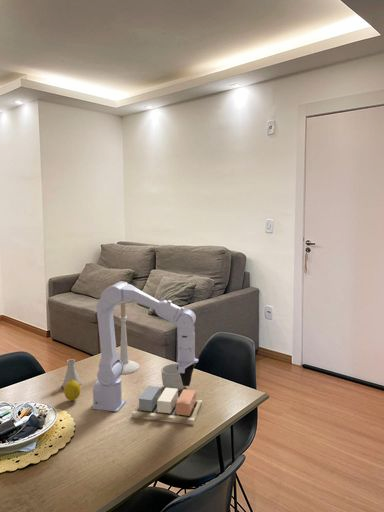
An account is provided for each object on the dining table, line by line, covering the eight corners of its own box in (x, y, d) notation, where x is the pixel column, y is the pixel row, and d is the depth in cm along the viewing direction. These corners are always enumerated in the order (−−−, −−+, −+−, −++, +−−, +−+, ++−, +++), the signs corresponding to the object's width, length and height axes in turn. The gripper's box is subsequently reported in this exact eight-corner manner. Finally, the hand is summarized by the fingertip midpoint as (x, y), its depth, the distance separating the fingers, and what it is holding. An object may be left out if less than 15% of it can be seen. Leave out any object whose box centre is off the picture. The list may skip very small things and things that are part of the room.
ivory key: (157, 411, 136) (157, 400, 136) (165, 398, 146) (165, 387, 146) (170, 413, 135) (170, 402, 135) (178, 399, 145) (177, 388, 145)
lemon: (76, 405, 144) (75, 383, 143) (61, 403, 146) (60, 382, 145) (83, 398, 150) (82, 377, 149) (69, 396, 151) (68, 376, 150)
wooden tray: (131, 417, 136) (131, 413, 136) (145, 397, 150) (145, 394, 150) (193, 424, 132) (193, 420, 132) (202, 404, 145) (202, 400, 145)
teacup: (177, 396, 151) (177, 376, 150) (155, 388, 157) (155, 369, 156) (199, 383, 162) (199, 364, 161) (178, 376, 168) (178, 358, 167)
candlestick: (110, 375, 169) (108, 305, 166) (108, 364, 182) (106, 298, 178) (141, 372, 173) (139, 303, 169) (137, 361, 185) (136, 296, 181)
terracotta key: (176, 414, 135) (176, 402, 134) (183, 400, 145) (183, 389, 144) (189, 415, 134) (189, 404, 133) (195, 401, 144) (195, 390, 143)
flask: (78, 389, 157) (77, 364, 156) (59, 389, 157) (58, 364, 156) (83, 381, 164) (82, 357, 163) (65, 381, 164) (64, 357, 163)
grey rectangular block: (139, 409, 138) (138, 398, 137) (148, 396, 147) (148, 385, 147) (151, 411, 137) (151, 400, 136) (160, 397, 146) (160, 386, 146)
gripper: (193, 355, 129) (193, 396, 130) (202, 340, 143) (202, 377, 144) (171, 353, 130) (172, 393, 132) (182, 338, 144) (182, 375, 146)
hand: (186, 385), depth 138 cm, fingers closed
